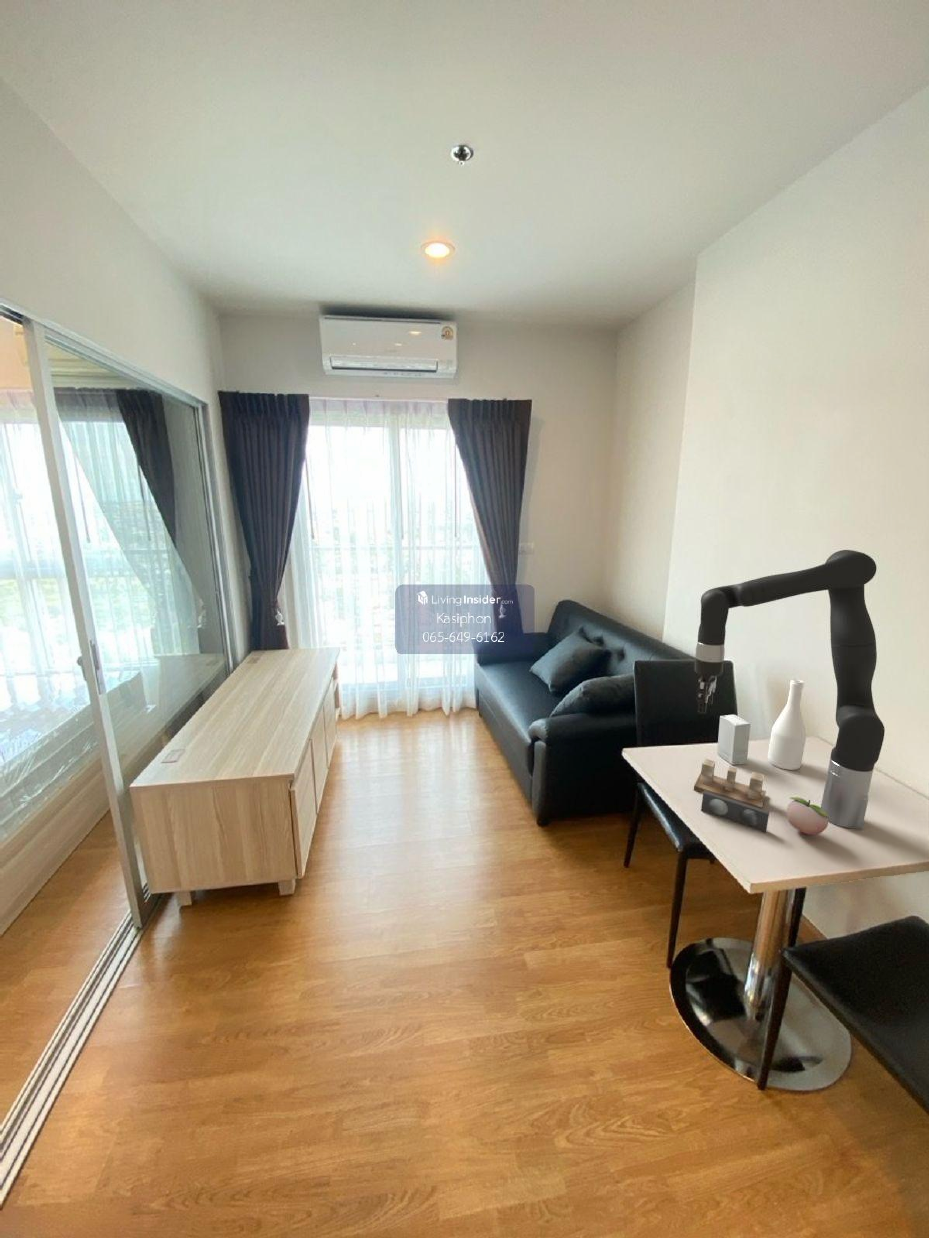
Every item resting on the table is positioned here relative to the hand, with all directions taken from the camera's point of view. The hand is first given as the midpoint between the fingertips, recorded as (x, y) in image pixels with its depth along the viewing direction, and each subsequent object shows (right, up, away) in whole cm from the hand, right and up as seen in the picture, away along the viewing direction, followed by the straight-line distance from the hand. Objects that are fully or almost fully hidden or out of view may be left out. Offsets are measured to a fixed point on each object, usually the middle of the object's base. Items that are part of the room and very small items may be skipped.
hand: (704, 708), depth 142 cm
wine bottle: (+37, -23, +19) cm, 47 cm away
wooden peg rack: (+9, -26, +3) cm, 28 cm away
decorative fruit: (+19, -31, -15) cm, 39 cm away
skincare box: (+20, -22, +22) cm, 37 cm away
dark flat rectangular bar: (+3, -30, -10) cm, 31 cm away
